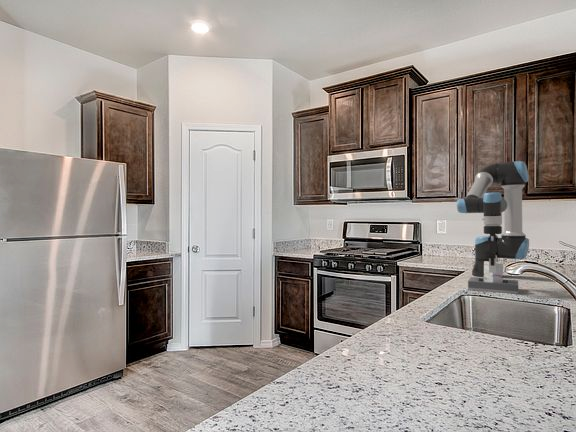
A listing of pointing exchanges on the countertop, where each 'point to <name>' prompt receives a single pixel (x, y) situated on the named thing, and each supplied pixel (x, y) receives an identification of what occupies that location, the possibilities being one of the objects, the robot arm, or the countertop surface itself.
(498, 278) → the ink box
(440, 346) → the countertop surface
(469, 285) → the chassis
